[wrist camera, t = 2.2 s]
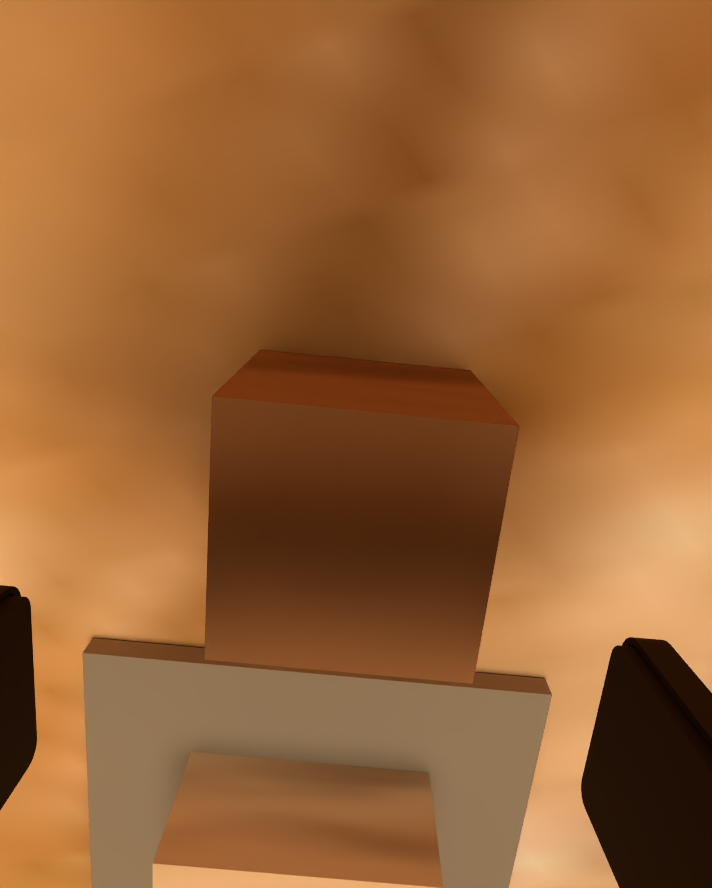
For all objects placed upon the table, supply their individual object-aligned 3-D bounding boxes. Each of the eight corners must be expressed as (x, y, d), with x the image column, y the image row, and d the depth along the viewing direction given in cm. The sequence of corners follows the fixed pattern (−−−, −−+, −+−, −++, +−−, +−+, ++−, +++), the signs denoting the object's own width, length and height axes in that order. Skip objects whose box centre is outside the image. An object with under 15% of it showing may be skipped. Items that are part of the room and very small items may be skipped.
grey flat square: (93, 637, 21) (82, 652, 20) (544, 678, 21) (551, 695, 20) (103, 960, 25) (95, 982, 24) (476, 991, 25) (480, 1013, 25)
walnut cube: (260, 349, 18) (212, 395, 12) (469, 370, 18) (518, 426, 12) (250, 540, 20) (204, 659, 14) (441, 557, 20) (472, 683, 14)
